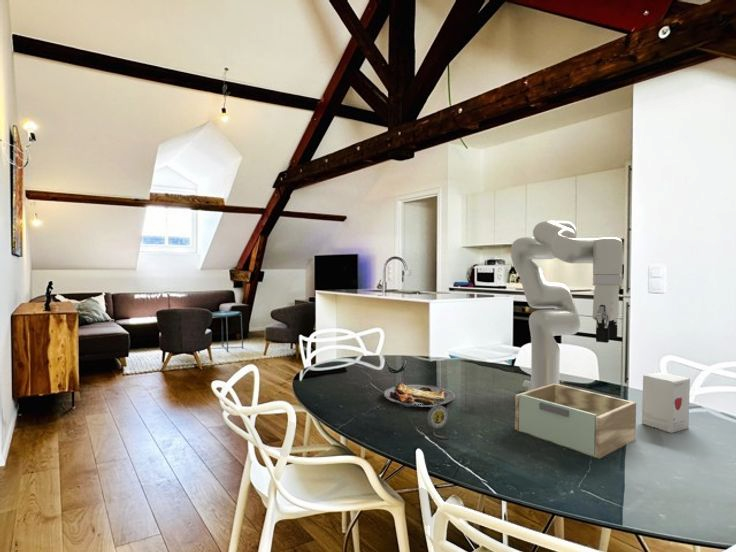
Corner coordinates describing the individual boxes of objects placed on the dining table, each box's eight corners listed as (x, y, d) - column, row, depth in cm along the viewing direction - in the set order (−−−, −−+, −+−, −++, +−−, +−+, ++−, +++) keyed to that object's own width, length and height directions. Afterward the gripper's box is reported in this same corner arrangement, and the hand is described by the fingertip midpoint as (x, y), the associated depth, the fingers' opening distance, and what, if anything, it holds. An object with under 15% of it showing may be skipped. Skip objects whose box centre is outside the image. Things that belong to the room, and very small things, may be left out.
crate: (514, 432, 131) (515, 394, 131) (553, 418, 143) (553, 383, 143) (599, 462, 112) (600, 418, 112) (635, 442, 124) (636, 402, 124)
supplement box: (672, 434, 130) (673, 381, 130) (640, 423, 138) (641, 374, 137) (689, 428, 134) (691, 378, 134) (658, 418, 142) (659, 371, 142)
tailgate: (517, 430, 130) (518, 395, 129) (521, 429, 131) (521, 394, 130) (592, 456, 113) (593, 415, 112) (596, 454, 114) (596, 414, 113)
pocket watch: (451, 442, 125) (451, 406, 124) (423, 435, 129) (423, 400, 129) (462, 432, 132) (462, 398, 131) (435, 426, 136) (435, 393, 136)
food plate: (372, 402, 158) (372, 392, 158) (399, 386, 179) (399, 377, 179) (441, 416, 147) (441, 405, 147) (461, 397, 167) (462, 387, 167)
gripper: (601, 279, 141) (600, 335, 141) (584, 281, 128) (584, 342, 128) (628, 280, 136) (628, 337, 136) (614, 282, 123) (613, 345, 123)
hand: (606, 339), depth 132 cm, fingers open, 9 cm apart
